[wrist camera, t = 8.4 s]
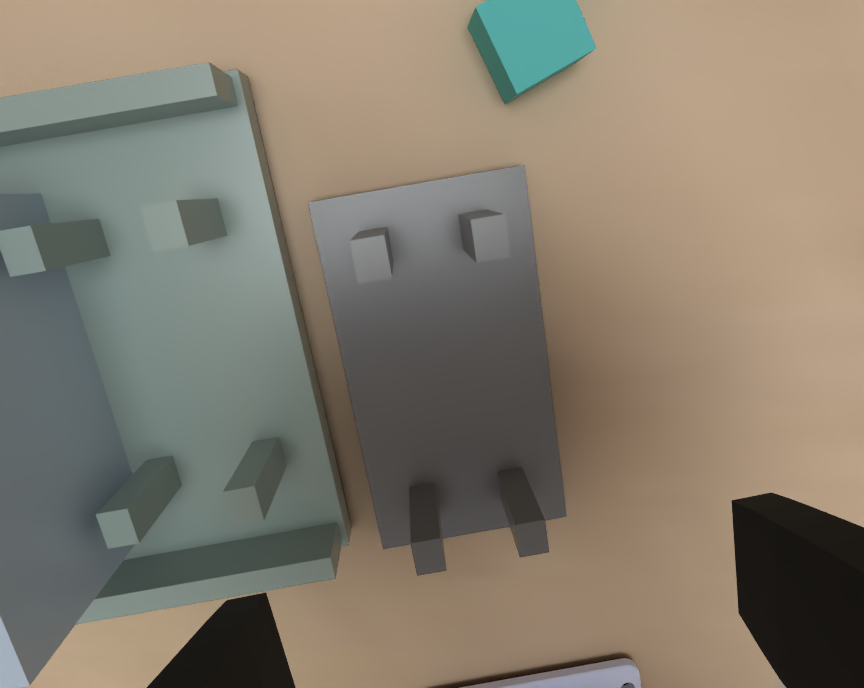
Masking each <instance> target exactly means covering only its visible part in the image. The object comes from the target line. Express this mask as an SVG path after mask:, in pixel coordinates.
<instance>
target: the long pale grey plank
mask: <svg viewBox="0 0 864 688" xmlns="http://www.w3.org/2000/svg"><path fill="white" fill-rule="evenodd" d="M50 223H51V222H50V219H49V216H48V213H47V210H46V207H45V204H44V201H43V198H42V195H41V194H0V231H1V230H7V229H13V228H19V227H25V226H30V225H40V224H50ZM132 475H133V474H132V471H131V468H130V465H129V462H128V459H127V456H126V453H125V450H124V447H123V443H122V440H121V437H120V434H119V431H118V428H117V425H116V422H115V419H114V416H113V413H112V410H111V407H110V404H109V400H108V397H107V394H106V391H105V388H104V385H103V382H102V379H101V376H100V373H99V370H98V367H97V364H96V361H95V358H94V354H93V351H92V348H91V345H90V342H89V339H88V336H87V333H86V330H85V327H84V324H83V321H82V318H81V315H80V311H79V308H78V305H77V302H76V299H75V296H74V293H73V290H72V287H71V284H70V281H69V278H68V275H67V272H66V269H65V267H60V268H56V269H52V270H47V271H42V272H36V273H30V274H25V275H19V276H13V277H10V275H9V272H8V270H7V267H6V264H5V261H4V259H3V256H2V253H1V250H0V688H19V687H25V686H30V685H31V683H32V682H33V681H34V679H35V678H36V677H37V675H38V674H39V673H40V671H41V670H42V669H43V667H44V666H45V665H46V663H47V662H48V661H49V659H50V658H51V657H52V655H53V654H54V652H55V651H56V650H57V648H58V647H59V646H60V644H61V643H62V642H63V640H64V639H65V638H66V636H67V635H68V634H69V632H70V631H71V630H72V628H73V627H74V626H75V624H76V623H77V622H78V620H79V619H80V618H81V616H82V615H83V614H84V612H85V611H86V610H87V608H88V607H89V606H90V604H91V603H92V602H93V600H94V599H95V598H96V596H97V595H98V594H99V592H100V591H101V590H102V588H103V587H104V585H105V584H106V583H107V581H108V580H109V579H110V577H111V576H112V575H113V573H114V572H115V571H116V569H117V568H118V567H119V565H120V564H121V563H122V561H123V560H124V559H125V557H126V556H127V555H128V553H129V552H130V551H131V549H132V548H133V547H134V545H135V544H133V545H127V546H121V547H116V548H110V549H108V548H107V545H106V542H105V539H104V537H103V534H102V531H101V528H100V526H99V523H98V520H97V517H96V513H97V512H98V511H99V510H100V509H101V508H102V507H103V506H104V505H105V504H106V502H107V501H108V500H109V499H110V498H111V497H112V496H113V495H114V494H115V493H116V492H117V491H118V490H119V489H120V488H121V486H122V485H123V484H124V483H125V482H126V481H127V480H128V479H129V478H130V477H131V476H132Z"/></svg>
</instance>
